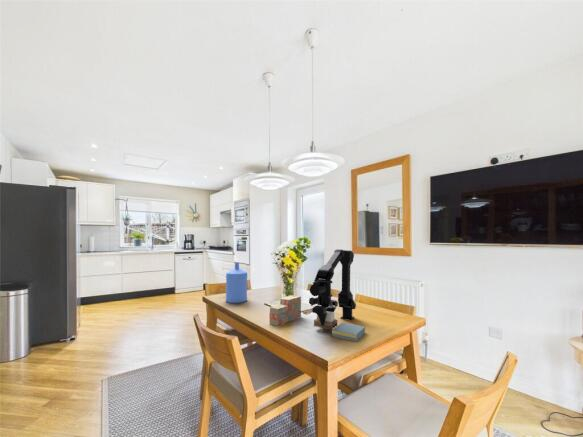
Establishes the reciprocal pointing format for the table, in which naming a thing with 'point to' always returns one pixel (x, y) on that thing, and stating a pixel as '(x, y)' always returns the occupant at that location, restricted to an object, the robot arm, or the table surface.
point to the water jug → (236, 285)
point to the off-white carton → (329, 316)
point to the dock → (348, 331)
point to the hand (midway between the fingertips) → (325, 323)
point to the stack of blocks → (285, 310)
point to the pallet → (325, 324)
